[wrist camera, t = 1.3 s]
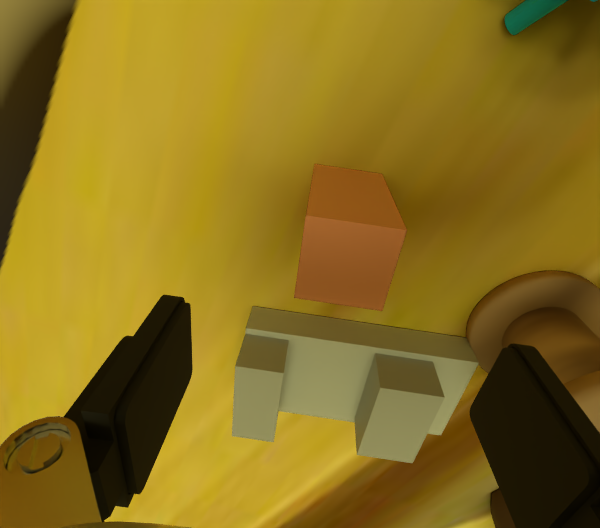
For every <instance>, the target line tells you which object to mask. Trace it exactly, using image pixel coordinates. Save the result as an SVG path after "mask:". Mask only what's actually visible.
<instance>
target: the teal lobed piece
mask: <svg viewBox="0 0 600 528" xmlns="http://www.w3.org/2000/svg"><path fill="white" fill-rule="evenodd" d="M566 1H568V0H525V1H524V2H523V3H521V4H520V5H518V6H517V7H516V8H514V9H513V10H512V11H510V12H509V13H507V14H506V16H505V25H506V28H507V29H508V31H509V32H510V33H511V34H512V35H516V34H518V33H519V32H521V31H522V30H524V29H525V28H527V27H528V26H530V25H531V24H533V23H534V22H536V21H537V20H539V19H541V18H542V17H544V16H545V15H547V14H548V13H550V12H551V11H553V10H554V9H556V8H557V7H559V6H560V5H562V4H563V3H565V2H566ZM590 1H593V2H595V1H598V0H590Z"/></svg>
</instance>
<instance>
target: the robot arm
mask: <svg viewBox="0 0 600 528" xmlns="http://www.w3.org/2000/svg"><path fill="white" fill-rule="evenodd" d="M191 375H192V341H191V309H190V304H189V303H185V300H184V298H183V297H177V296H170V295H163V296H162V297H161V298H160V299H159V301H158V302H157V303H156V305H155V306H154V308H153V309H152V311H151V312H150V313H149V315H148V316H147V318H146V319H145V320H144V322H143V323H142V325H141V326H140V327H139V329H138V330H137V332H136V333H135V335H134V336H125V337H124V338H123V339H122V340H121V341H120V342H119V343H118V345H117V346H116V347H115V349H114V350H113V351H112V353H111V354H110V355H109V357H108V358H107V359H106V361H105V362H104V363H103V365H102V366H101V367H100V369H99V370H98V372H97V373H96V374H95V376H94V377H93V378H92V380H91V381H90V382H89V384H88V385H87V386H86V388H85V389H84V390H83V392H82V393H81V394H80V396H79V397H78V398H77V400H76V401H75V402H74V404H73V405H72V406H71V408H70V409H69V411H68V412H67V413H66V415H65V416H64V417H60V416H56V417H46V418H42V419H38V420H35V421H33V422H31V423H29V424H26V425H24V426H22V427H21V428H19V429H18V430H17V431H15V432H14V433H12V434H11V435H10V436H9V437H8V438H7V439H6V440H5V441H4V442H3V443H2V444H1V446H0V528H190V527H181V526H172V525H163V524H153V523H135V522H105V521H104V520H105V519H107V518H108V517H110V516H111V514H112V512H113V509H114V507H115V506H120V507H128V506H129V504H130V502H131V500H132V497H133V495H134V494H140V493H141V492H142V490H143V489H144V487H145V484H146V482H147V480H148V477H149V475H150V473H151V470H152V468H153V466H154V463H155V461H156V459H157V456H158V454H159V452H160V449H161V447H162V445H163V442H164V440H165V438H166V435H167V433H168V431H169V428H170V426H171V424H172V421H173V419H174V417H175V414H176V412H177V409H178V407H179V405H180V402H181V400H182V398H183V395H184V393H185V391H186V388H187V386H188V384H189V381H190V379H191ZM470 418H471V421H472V423H473V426H474V428H475V431H476V433H477V435H478V438H479V440H480V443H481V445H482V447H483V450H484V452H485V455H486V457H487V459H488V462H489V464H490V467H491V469H492V472H493V474H494V476H495V479H496V481H497V484H498V486H499V488H500V491H501V493H502V496H503V498H504V501H505V503H506V505H507V508H508V510H509V513H510V515H511V517H512V520H513V522H514V525H515V527H516V528H600V433H599V431H598V430H597V429H596V427H595V426H594V425H593V423H592V422H591V421H590V419H589V418H588V417H587V415H586V414H585V413H584V411H583V410H582V409H581V407H580V406H579V405H578V403H577V402H576V401H575V399H574V398H573V397H572V395H571V394H570V393H569V391H568V390H567V389H566V387H565V386H564V385H563V383H562V382H561V381H560V379H559V378H558V377H557V375H556V374H555V373H554V371H553V370H552V369H551V367H550V366H549V365H548V363H547V362H546V361H545V359H544V358H543V357H542V355H541V354H540V353H539V351H538V350H537V349H536V348H535V347H533V346H529V345H522V344H515V343H513V344H510V345H508V347H505V348H503V349H502V350H501V352H500V354H499V356H498V358H497V359H496V361H495V363H494V365H493V367H492V369H491V370H490V372H489V374H488V376H487V378H486V380H485V381H484V383H483V385H482V387H481V389H480V391H479V393H478V394H477V396H476V398H475V400H474V402H473V404H472V405H471V408H470Z"/></svg>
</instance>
